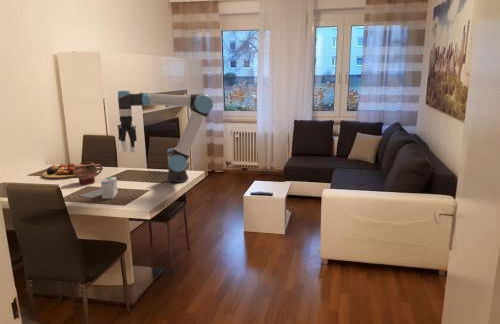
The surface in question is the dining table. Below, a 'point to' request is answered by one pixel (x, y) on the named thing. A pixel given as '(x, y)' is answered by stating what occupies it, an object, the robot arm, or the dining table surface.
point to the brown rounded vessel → (86, 172)
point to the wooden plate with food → (60, 172)
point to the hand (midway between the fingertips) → (128, 151)
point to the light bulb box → (109, 187)
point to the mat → (92, 194)
